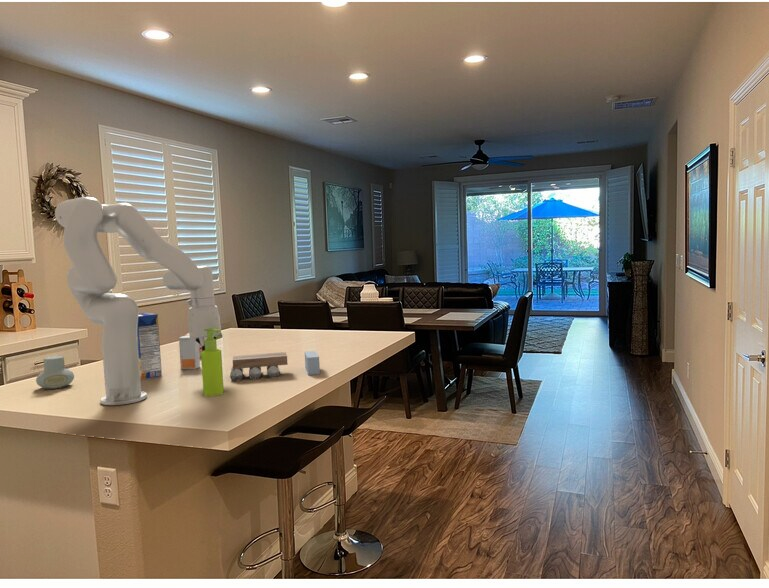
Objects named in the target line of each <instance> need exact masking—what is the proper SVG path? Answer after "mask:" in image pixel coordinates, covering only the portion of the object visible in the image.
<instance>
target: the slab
mask: <svg viewBox="0 0 769 588" xmlns="http://www.w3.org/2000/svg"><path fill="white" fill-rule="evenodd" d="M286 365H287V366H288V355H287V351H283V352H282V351H280V352H269V353H253V354H243V355H242V354H241V355H233V356H232V366H233V369H240V368H243V369H249V368H252V367H261V368H262V367H263V368H264V367H267V366H278V367H279V366H286Z"/></svg>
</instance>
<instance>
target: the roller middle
mask: <svg viewBox="0 0 769 588" xmlns="http://www.w3.org/2000/svg"><path fill="white" fill-rule="evenodd" d="M248 369H249V370H248V377H249V378H250V379H251V380H253V379H254V380H259V379H260V378H261V377H262V367H252V368H248Z"/></svg>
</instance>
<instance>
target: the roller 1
mask: <svg viewBox="0 0 769 588" xmlns="http://www.w3.org/2000/svg"><path fill="white" fill-rule="evenodd" d="M243 375H244V368H240V369H233V365H232V367H231V370H230V374H229V378H230V380H231V381H233V382H238V381H237V380H240V381H241V380H242V378H243Z"/></svg>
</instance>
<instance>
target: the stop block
mask: <svg viewBox="0 0 769 588" xmlns="http://www.w3.org/2000/svg"><path fill="white" fill-rule="evenodd" d="M320 364H321V363H320V356H319V355H318V352H317V351H316V350H311V351H304V366H305V367H304V368H305V371H306V373H307V376H313V375H315V374H316V375H321V371H320V370H321V369H320V368H321V365H320Z"/></svg>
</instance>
